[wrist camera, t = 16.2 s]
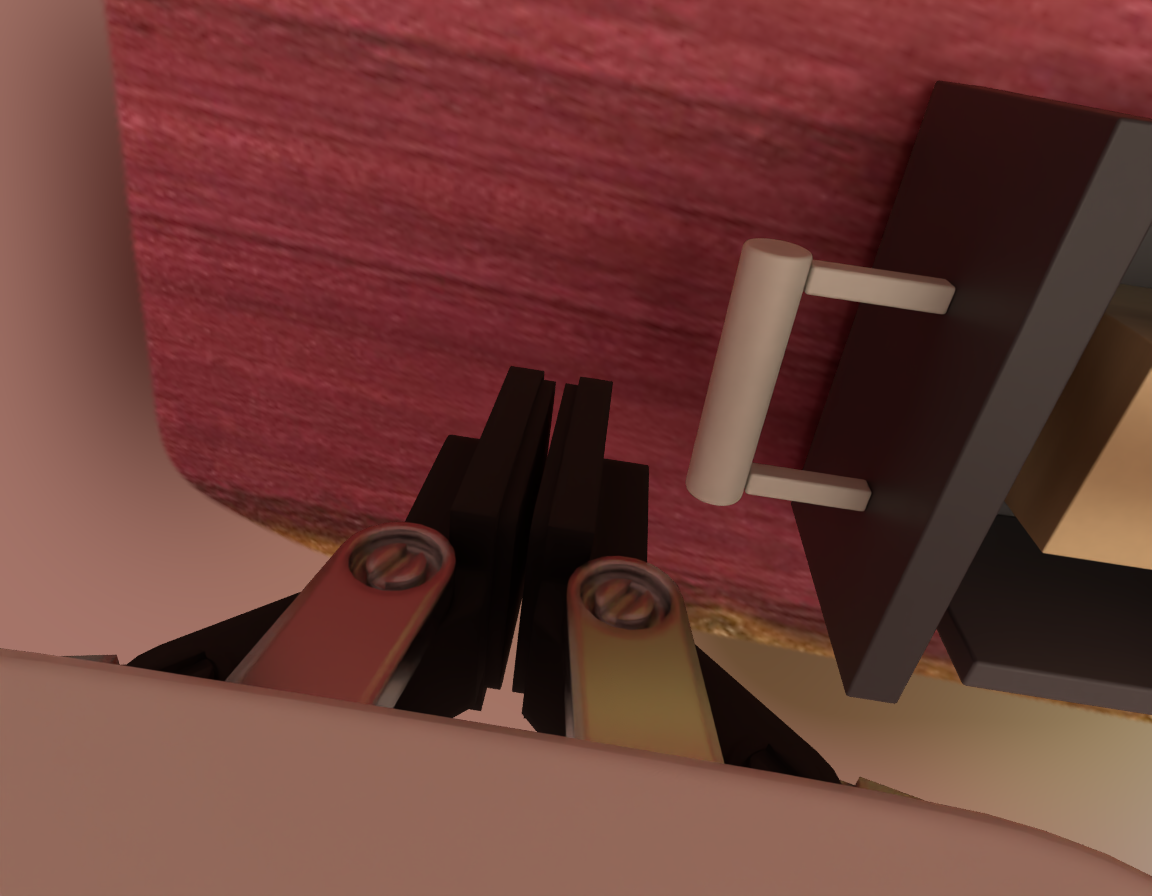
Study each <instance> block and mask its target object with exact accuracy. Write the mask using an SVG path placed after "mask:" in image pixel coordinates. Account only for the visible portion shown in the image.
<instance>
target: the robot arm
mask: <svg viewBox="0 0 1152 896" xmlns="http://www.w3.org/2000/svg"><path fill="white" fill-rule="evenodd" d="M612 385H613V382H612V381H605V380H599V379H592V378H586V377H580V380H579V384H578V385H573V384H567V383H566V385H565V388H564V392H563V396H562V400H561V404H560V408H559V413H558V417H557V421H556V425H555V429H554V433H553V437H552V441H551V445H550V449H549V453H548V446H549V437H550V429H551V421H552V412H553V404H554V396H555V386H556V382H554V381H547V380H544V371H540V370H534V369H527V368H521V367H514V366H511V367H510V368H509V371H508V373H507V376H506V378H505V380H504V383H503V385H502V388H501V390H500V392H499V395H498V397H497V400H496V402H495V404H494V407H493V409H492V412H491V414H490V416H489V419H488V421H487V423H486V426H485V428H484V431H483V433H482V435H481V438H480V439H476V438H469V437H463V436H457V435H449V436H448V437H447V439H446V440H445V442H444V444H443V446H442V448H441V450H440V452H439V454H438V456H437V458H436V460H435V462H434V464H433V466H432V468H431V470H430V472H429V474H428V476H427V478H426V480H425V482H424V484H423V486H422V488H421V490H420V492H419V494H418V496H417V498H416V500H415V502H414V504H413V506H412V508H411V510H410V512H409V514H408V516H407V518H406V520H405V522H388V523H383V524H378V525H374V526H370V527H368V528H366V529H363V530H361V531H359V532H357V533H355V534H354V535H352V536H351V537H350V538H349V539H348V540H346V541H345V542H344V543H343V544H342V545H341V546H340V547H339V549H338V550H337V551H336V552H335V553H334V554H333V556H332V557H331V558H330V559H329V560H328V561H327V562H326V564H325V565H324V566H323V567H322V569H321V570H320V571H319V572H318V573H317V574H316V575H315V576H314V578H313V579H312V580H311V581H310V582H309V583H308V585H307V586H306V587H305V588H304V589H303V591H302V592H299V593H297V594H294V595H291V596H289V597H286V598H284V599H281V600H278V601H275V602H273V603H270V604H267V605H265V606H262V607H260V608H257V609H254V610H252V611H249V612H246V613H244V614H241V615H238V616H236V617H233V618H230V619H228V620H225V621H222V622H220V623H217V624H215V625H212V626H209V627H207V628H204V629H202V630H199V631H196V632H193V633H191V634H188V635H185V636H183V637H180V638H177V639H175V640H172V641H169V642H167V643H164V644H162V645H159V646H157V647H155V648H153V649H151V650H149V651H147V652H145V653H143V654H141V655H139V656H137V657H136V658H135V659H133V660H132V661H131V662H129V663H128V664H127V665H120V664H119V661H118V658H117V655H90V656H54V655H47V654H41V653H34V652H26V651H17V650H10V649H1V648H0V896H1152V876H1150V875H1148V874H1146V873H1144V872H1142V871H1140V870H1138V869H1136V868H1134V867H1132V866H1130V865H1128V864H1126V863H1124V862H1122V861H1120V860H1117V859H1116V858H1114V857H1111V856H1109V855H1107V854H1105V853H1102V852H1099V851H1097V850H1094V849H1092V848H1089V847H1086V846H1084V845H1081V844H1079V843H1076V842H1073V841H1071V840H1068V839H1065V838H1062V837H1060V836H1057V835H1054V834H1052V833H1049V832H1047V831H1044V830H1040V829H1037V828H1033V827H1030V826H1026V825H1023V824H1020V823H1016V822H1013V821H1009V820H1006V819H1002V818H999V817H996V816H992V815H989V814H985V813H980V812H975V811H970V810H966V809H961V808H956V807H951V806H947V805H942V804H936V803H933V802H928V801H924V800H922V799H919V798H917V797H914V796H911V795H908V794H906V793H903V792H900V791H897V790H895V789H892V788H889V787H887V786H884V785H881V784H878V783H876V782H873V781H870V780H867V779H865V778H862V777H859V779H858V781H857V783H856V785H852V784H849V783H847V782H844V781H841V780H839V778H838V777H837V775H836V773H835V771H834V770H833V768H832V767H831V766H830V765H829V764H828V763H827V762H826V761H825V760H824V758H822V756H821V755H820V754H819V753H818V752H817V751H816V750H815V749H813V748H812V747H811V746H810V745H809V744H808V743H807V742H806V741H804V740H803V739H802V738H801V737H800V736H798V735H797V734H796V733H795V732H794V731H793V730H792V729H791V728H789V727H788V726H787V725H786V724H785V723H784V722H783V721H782V720H781V719H779V718H778V717H777V716H776V715H775V714H774V713H773V712H771V711H770V710H769V709H768V708H767V707H766V706H765V705H763V704H762V703H761V702H760V701H759V700H758V699H757V698H755V697H754V696H753V695H752V694H751V693H750V692H749V691H748V690H746V689H745V688H744V687H743V686H742V685H741V684H739V683H738V682H737V681H736V680H735V679H734V678H733V677H732V676H730V675H729V674H728V673H727V672H726V671H725V670H723V668H721V667H720V666H719V665H718V664H717V663H716V662H715V661H713V660H712V659H711V658H710V657H709V656H708V655H707V654H705V653H704V652H703V651H702V650H701V649H700V648H699V647H698V646H696V645H695V643H694V639H693V635H692V631H691V627H690V623H689V619H688V615H687V611H686V607H685V603H684V599H683V596H682V594H681V592H680V590H679V588H678V586H677V584H676V583H675V582H674V581H673V580H672V579H671V578H670V577H669V576H668V575H667V574H666V573H665V572H663V571H662V570H660V569H658V568H657V567H655V566H654V565H652V564H649V563H647V540H648V491H649V466H648V465H642V464H636V463H630V462H623V461H617V460H610V459H604V450H605V442H606V434H607V426H608V418H609V410H610V402H611V393H612ZM547 454H548V457H547ZM522 596H523V597H522ZM521 601H522V606H521V615H520V624H519V633H518V642H517V651H516V660H515V670H514V678H513V687H512V691H513V692H517V693H524V699H523V707H522V714H523V716H524V718H526V719H527V720H528V721H529V723H530V724H531V725H532V726H533V728H534V729H535V730H536V731H537V732H532V731H527V730H521V729H514V728H508V727H502V726H496V725H490V724H484V723H478V722H472V721H466V720H460V719H454V718H453V717H455V716H457V715H459V714H461V713H462V712H464V711H466V710H468V709H471V710H478V711H481V709H482V705H483V701H484V697H485V693H486V689H487V688H493V689H499V690H500V689H501V686H502V682H503V678H504V674H505V669H506V665H507V661H508V656H509V652H510V648H511V644H512V639H513V635H514V631H515V626H516V622H517V618H518V614H519V609H520V605H521Z"/></svg>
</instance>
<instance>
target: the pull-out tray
mask: <svg viewBox="0 0 1152 896" xmlns="http://www.w3.org/2000/svg"><path fill="white" fill-rule="evenodd" d="M1120 284H1124V285H1130V286H1137V287H1144V288H1151V289H1152V119H1150V118H1144V117H1139V116H1134V115H1129V114H1123V113H1118V112H1113V111H1108V110H1103V109H1097V108H1092V107H1087V106H1082V105H1076V104H1071V103H1066V102H1061V101H1055V100H1050V99H1045V98H1040V97H1034V96H1029V95H1024V94H1019V93H1013V92H1008V91H1003V90H998V89H992V88H987V87H981V86H974V85H967V84H960V83H953V82H947V81H940V80H939V81H936V83H935V85H934V88H933V91H932V94H931V97H930V100H929V103H928V106H927V109H926V112H925V115H924V118H923V120H922V123H921V126H920V129H919V132H918V135H917V138H916V141H915V144H914V147H913V150H912V152H911V155H910V158H909V161H908V164H907V167H906V170H905V173H904V176H903V179H902V182H901V185H900V187H899V190H898V193H897V196H896V199H895V202H894V205H893V208H892V211H891V214H890V217H889V219H888V222H887V225H886V228H885V231H884V234H883V237H882V240H881V243H880V246H879V249H878V252H877V254H876V257H875V260H874V263H873V266H872V268H867V267H860V266H853V265H847V264H840V263H833V262H826V261H820V260H813V259H812V253H811V252H810V251H808V250H807V249H805V248H803V247H801V246H799V245H796V244H793V243H790V242H786V241H781V240H776V239H768V238H755V239H749V240H747V241H746V242H745V243H744V244H743V248H742V252H741V256H740V260H739V264H738V268H737V272H736V276H735V280H734V285H733V289H732V293H731V297H730V301H729V305H728V309H727V313H726V317H725V321H724V326H723V330H722V334H721V338H720V342H719V346H718V350H717V354H716V358H715V362H714V367H713V371H712V375H711V379H710V383H709V387H708V391H707V395H706V399H705V403H704V408H703V412H702V416H701V420H700V424H699V428H698V432H697V436H696V440H695V444H694V448H693V453H692V457H691V461H690V465H689V469H688V473H687V477H686V487H687V489H688V491H689V492H690V493H691V494H692V495H693V496H694V497H695V498H697V499H699V500H701V501H703V502H706V503H709V504H713V505H720V506H725V505H731V504H734V503H736V502H737V501H739V500H740V498H741V497H742V494H743V491H744V488H745V492H746V493H747V494H752V495H758V496H765V497H771V498H778V499H784V500H791V501H792V502H791V506H792V509H793V513H794V516H795V519H796V523H797V526H798V530H799V533H800V537H801V540H802V544H803V547H804V551H805V554H806V558H807V561H808V565H809V568H810V571H811V575H812V578H813V582H814V585H815V589H816V592H817V596H818V599H819V603H820V606H821V610H822V613H823V617H824V620H825V623H826V627H827V630H828V634H829V637H830V641H831V644H832V648H833V651H834V655H835V658H836V662H837V665H838V668H839V672H840V675H841V679H842V682H843V686H844V689H845V693H846V695H847V696H850V697H856V698H863V699H869V700H875V701H881V702H887V703H894V704H895V703H897V701H898V700H899V698H900V696H901V694H902V692H903V690H904V688H905V686H906V685H907V683H908V681H909V679H910V677H911V675H912V673H913V671H914V670H915V668H916V666H917V664H918V662H919V660H920V658H921V656H922V655H923V653H924V651H925V649H926V647H927V645H928V643H929V641H930V640H931V638H932V636H933V634H934V632H935V630H936V629H937V631H938V633H939V635H940V637H941V639H942V641H943V644H944V646H945V648H946V650H947V652H948V654H949V656H950V658H951V661H952V663H953V665H954V667H955V669H956V671H957V673H958V675H959V678H960V680H961V682H962V683H963V684H964V685H966V686H971V687H978V688H984V689H991V690H997V691H1003V692H1010V693H1016V694H1022V695H1029V696H1035V697H1041V698H1048V699H1054V700H1060V701H1067V702H1073V703H1080V704H1086V705H1092V706H1099V707H1105V708H1111V709H1118V710H1124V711H1130V712H1137V713H1143V714H1149V715H1152V570H1150V569H1143V568H1137V567H1131V566H1124V565H1118V564H1111V563H1105V562H1098V561H1092V560H1085V559H1079V558H1072V557H1066V556H1059V555H1053V554H1046V553H1043V552H1041V550H1040V549H1039V548H1038V546H1037V545H1036V544H1035V542H1034V541H1033V540H1032V538H1031V537H1030V535H1029V534H1028V533H1027V531H1026V530H1025V529H1024V527H1023V526H1022V525H1021V523H1020V522H1019V521H1018V519H1017V518H1016V516H1015V515H1014V514H1013V512H1012V511H1011V510H1010V508H1009V507H1008V506H1007V504H1006V503H1005V502H1004V501H1005V499H1006V497H1007V495H1008V493H1009V491H1010V489H1011V487H1012V486H1013V484H1014V482H1015V480H1016V478H1017V476H1018V474H1019V472H1020V471H1021V469H1022V467H1023V465H1024V463H1025V461H1026V459H1027V457H1028V456H1029V454H1030V452H1031V450H1032V448H1033V446H1034V444H1035V442H1036V441H1037V439H1038V437H1039V435H1040V433H1041V431H1042V429H1043V427H1044V426H1045V424H1046V422H1047V420H1048V418H1049V416H1050V414H1051V412H1052V411H1053V409H1054V407H1055V405H1056V403H1057V401H1058V399H1059V397H1060V396H1061V394H1062V392H1063V390H1064V388H1065V386H1066V384H1067V382H1068V380H1069V379H1070V377H1071V375H1072V373H1073V371H1074V369H1075V367H1076V365H1077V364H1078V362H1079V360H1080V358H1081V356H1082V354H1083V352H1084V350H1085V349H1086V347H1087V345H1088V343H1089V341H1090V339H1091V337H1092V335H1093V334H1094V332H1095V330H1096V328H1097V326H1098V324H1099V322H1100V320H1101V319H1102V317H1103V315H1104V313H1105V311H1106V309H1107V307H1108V305H1109V304H1110V302H1111V300H1112V298H1113V296H1114V294H1115V292H1116V290H1117V289H1118V287H1119V285H1120ZM803 290H804V292H805V293H806V294H808V295H815V296H822V297H828V298H835V299H842V300H848V301H855V302H860V304H859V307H858V310H857V313H856V316H855V319H854V321H853V324H852V327H851V330H850V333H849V336H848V339H847V342H846V345H845V348H844V351H843V353H842V356H841V359H840V362H839V365H838V368H837V371H836V374H835V377H834V380H833V383H832V386H831V388H830V391H829V394H828V397H827V400H826V403H825V406H824V409H823V412H822V415H821V418H820V421H819V423H818V426H817V429H816V432H815V435H814V438H813V441H812V444H811V447H810V450H809V453H808V455H807V458H806V461H805V464H804V467H803V470H798V469H791V468H784V467H778V466H771V465H765V464H758V463H752V461H753V457H754V454H755V451H756V447H757V444H758V441H759V437H760V434H761V430H762V427H763V424H764V420H765V417H766V414H767V410H768V407H769V404H770V400H771V397H772V393H773V390H774V387H775V383H776V380H777V377H778V373H779V370H780V367H781V363H782V360H783V356H784V353H785V350H786V346H787V343H788V340H789V336H790V333H791V330H792V326H793V323H794V319H795V316H796V313H797V309H798V306H799V303H800V299H801V296H802V293H803Z"/></svg>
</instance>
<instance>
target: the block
mask: <svg viewBox="0 0 1152 896" xmlns="http://www.w3.org/2000/svg"><path fill="white" fill-rule="evenodd" d="M1004 502H1005V503H1006V504H1007V506H1008V507H1009V508H1010V510H1011V511H1012V512H1013V514H1014V515H1015V516H1016V518H1017V519H1018V521H1019V522H1020V523H1021V525H1022V526H1023V527H1024V529H1025V530H1026V531H1027V533H1028V534H1029V535H1030V537H1031V538H1032V540H1033V541H1034V542H1035V544H1036V545H1037V546H1038V548H1039V549H1040V550H1041V552H1043V553H1046V554H1053V555H1059V556H1066V557H1072V558H1079V559H1085V560H1092V561H1098V562H1105V563H1111V564H1118V565H1124V566H1131V567H1137V568H1143V569H1150V570H1152V289H1151V288H1144V287H1137V286H1130V285H1124V284H1120V285H1119V287H1118V289H1117V290H1116V292H1115V294H1114V296H1113V298H1112V300H1111V302H1110V304H1109V305H1108V307H1107V309H1106V311H1105V313H1104V315H1103V317H1102V319H1101V320H1100V322H1099V324H1098V326H1097V328H1096V330H1095V332H1094V334H1093V335H1092V337H1091V339H1090V341H1089V343H1088V345H1087V347H1086V349H1085V350H1084V352H1083V354H1082V356H1081V358H1080V360H1079V362H1078V364H1077V365H1076V367H1075V369H1074V371H1073V373H1072V375H1071V377H1070V379H1069V380H1068V382H1067V384H1066V386H1065V388H1064V390H1063V392H1062V394H1061V396H1060V397H1059V399H1058V401H1057V403H1056V405H1055V407H1054V409H1053V411H1052V412H1051V414H1050V416H1049V418H1048V420H1047V422H1046V424H1045V426H1044V427H1043V429H1042V431H1041V433H1040V435H1039V437H1038V439H1037V441H1036V442H1035V444H1034V446H1033V448H1032V450H1031V452H1030V454H1029V456H1028V457H1027V459H1026V461H1025V463H1024V465H1023V467H1022V469H1021V471H1020V472H1019V474H1018V476H1017V478H1016V480H1015V482H1014V484H1013V486H1012V487H1011V489H1010V491H1009V493H1008V495H1007V497H1006V499H1005V501H1004Z"/></svg>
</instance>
